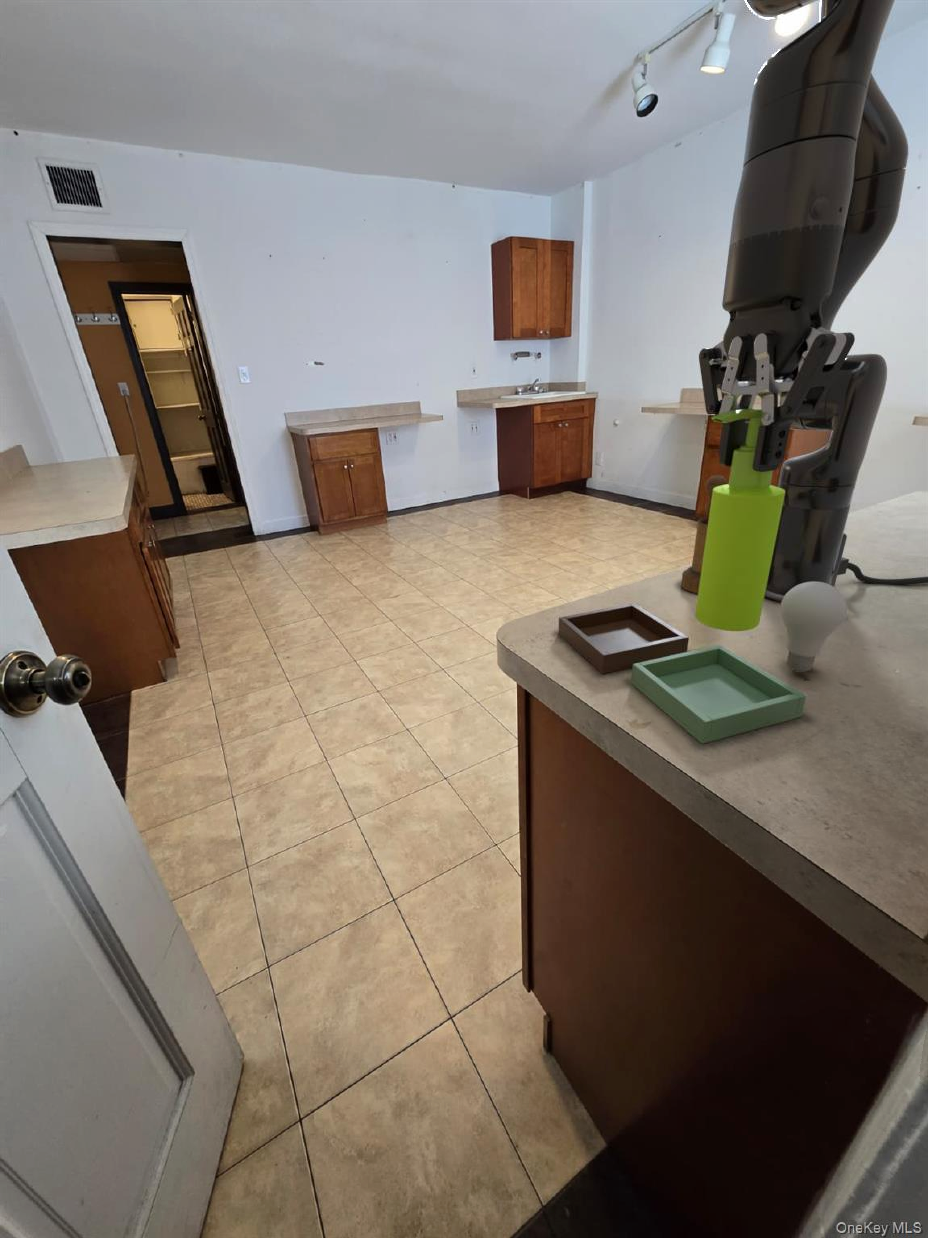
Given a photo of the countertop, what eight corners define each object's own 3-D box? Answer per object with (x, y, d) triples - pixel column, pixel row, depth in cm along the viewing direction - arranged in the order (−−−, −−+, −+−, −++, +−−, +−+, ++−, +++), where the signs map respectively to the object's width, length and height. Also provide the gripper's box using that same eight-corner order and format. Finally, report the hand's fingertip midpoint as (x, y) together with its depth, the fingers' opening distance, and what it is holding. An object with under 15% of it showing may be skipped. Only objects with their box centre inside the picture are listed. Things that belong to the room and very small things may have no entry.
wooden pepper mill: (728, 595, 81) (747, 479, 74) (684, 594, 82) (698, 480, 75) (718, 580, 87) (734, 471, 79) (677, 579, 88) (690, 473, 81)
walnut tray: (632, 619, 75) (633, 602, 74) (686, 655, 65) (689, 637, 64) (558, 633, 73) (558, 617, 72) (602, 674, 62) (603, 655, 61)
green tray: (717, 663, 63) (720, 644, 62) (801, 717, 52) (806, 695, 51) (631, 683, 60) (632, 663, 59) (701, 744, 49) (705, 722, 48)
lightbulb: (821, 661, 62) (843, 575, 57) (836, 688, 56) (862, 595, 52) (763, 655, 64) (781, 572, 59) (773, 681, 58) (792, 591, 54)
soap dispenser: (675, 610, 55) (699, 410, 46) (737, 604, 55) (773, 404, 47) (703, 634, 50) (736, 413, 41) (771, 628, 50) (819, 407, 41)
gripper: (921, 203, 33) (854, 473, 41) (753, 255, 46) (724, 455, 53) (830, 202, 32) (777, 484, 39) (681, 256, 44) (662, 463, 51)
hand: (747, 466), depth 46 cm, fingers closed on soap dispenser, 3 cm apart
